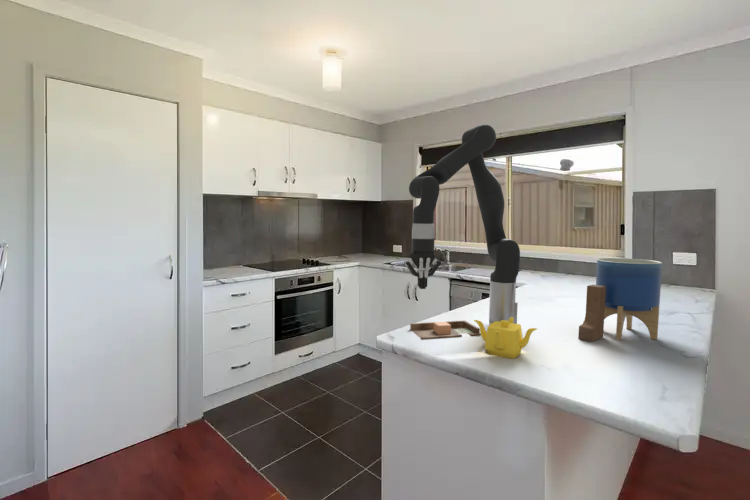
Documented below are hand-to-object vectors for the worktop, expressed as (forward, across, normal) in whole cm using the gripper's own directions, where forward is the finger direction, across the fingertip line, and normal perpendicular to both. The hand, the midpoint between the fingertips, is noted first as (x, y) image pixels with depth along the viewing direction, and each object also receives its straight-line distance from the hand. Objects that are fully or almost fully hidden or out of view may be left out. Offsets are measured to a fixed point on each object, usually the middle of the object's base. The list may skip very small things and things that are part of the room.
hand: (422, 288), depth 131 cm
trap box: (+17, -8, 0) cm, 19 cm away
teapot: (+17, -20, +18) cm, 32 cm away
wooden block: (+17, -57, +12) cm, 61 cm away
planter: (+17, -73, +10) cm, 76 cm away
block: (+16, -8, 0) cm, 17 cm away
